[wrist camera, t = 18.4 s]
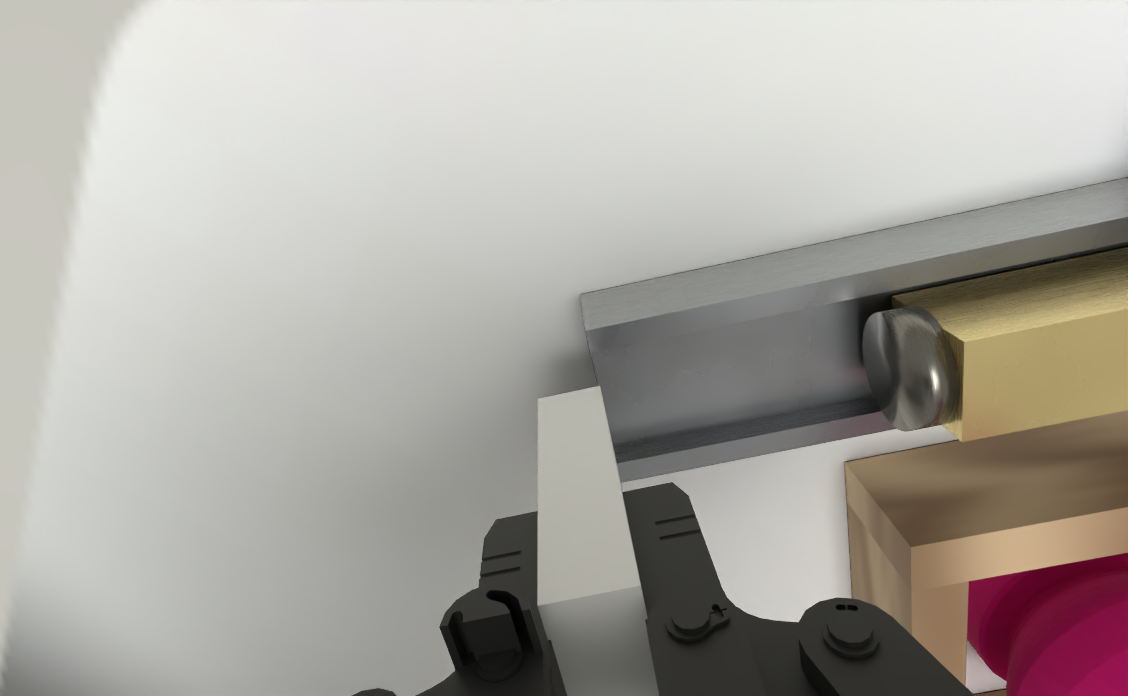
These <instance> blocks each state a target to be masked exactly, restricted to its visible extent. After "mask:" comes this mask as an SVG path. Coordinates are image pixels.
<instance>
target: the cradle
mask: <svg viewBox="0 0 1128 696" xmlns="http://www.w3.org/2000/svg"><path fill="white" fill-rule="evenodd" d="M845 476H846V494H847V512H848V530H849V547H850V565H851V583H852V599H858V600H861V601H864V602H867V603H870V604H873V605H876V606H877V607H879V608H880V609H882V610H883V611H885V612H886V613H887V614H889V615H890V616H892V617H893V618H894V619H895V620H896V621H897V622H898V623H899V624H900V625H901V626H903V627H904V628H905V629H906V630H907V631H908V632H909V633H910V634H911V635H912V636H913V637H914V638H915V639H916V640H917V641H918V642H919V643H920V644H921V645H922V646H923V647H924V648H925V649H927V650H928V651H929V652H930V653H931V654H932V655H933V656H934V657H935V658H936V659H937V660H938V661H939V662H940V663H941V664H942V665H943V666H944V667H945V668H946V669H947V670H948V671H949V672H951V673H952V674H953V675H954V676H955V677H956V678H957V679H958V680H959V681H960V682H961V683H962V684H963V685H964V686H965V678H966V648H967V618H968V588H969V581H973V580H979V579H984V578H990V577H995V576H1001V575H1006V574H1012V573H1017V572H1023V571H1028V570H1034V569H1039V568H1045V567H1050V566H1056V565H1062V564H1067V563H1073V562H1078V561H1084V560H1089V559H1095V558H1100V557H1106V556H1111V555H1117V554H1122V553H1128V410H1126V411H1121V412H1115V413H1110V414H1105V415H1100V416H1095V417H1090V418H1084V419H1079V420H1074V421H1069V422H1064V423H1059V424H1053V425H1048V426H1043V427H1038V428H1033V429H1028V430H1022V431H1017V432H1012V433H1007V434H1002V435H997V436H992V437H986V438H981V439H976V440H971V441H966V442H961V441H960V440H957V441H952V442H947V443H941V444H936V445H931V446H926V447H921V448H916V449H910V450H905V451H900V452H895V453H890V454H885V455H880V456H874V457H869V458H864V459H859V460H854V461H849V462H845ZM975 696H1007V693H1006V689H1005V690H1000V691H994V692H988V693H982V694H976V695H975Z"/></svg>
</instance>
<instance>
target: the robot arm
mask: <svg viewBox="0 0 1128 696" xmlns="http://www.w3.org/2000/svg"><path fill="white" fill-rule="evenodd" d="M480 577H481V578H480V579H479V588H477V589H474V590H471V591H470V592H468V593H467V594H465V595H464V596H462V597H460V598H459V599H457V600H456V601H455V602H454V603H453V605H452V606H451V607H450V608H449V609H448V610H447V611H446V613H445V615H444V617H443V619H442V622H441V624H440V630H441V632H442V635H443V638H444V640H445V643H446V645H447V648H448V651H449V653H450V656H451V659H452V661H453V664H454V666H455V672H453V673H452V674H451V675H450V676H449V677H448V678H446V679H445V680H444V681H442V682H441V683H439V684H437V685H436V686H434V687H432V688H431V689H429V690H426V691H424V692H422V693H420V694H418V695H416V696H975V695H974V694H972V693H971V692H970V691H969V690H968V689H967V688H966V687H965V686H964V685H963V684H962V683H961V682H960V681H959V680H958V679H957V678H956V677H955V676H954V675H953V674H952V673H951V672H949V671H948V670H947V669H946V668H945V667H944V666H943V665H942V664H941V663H940V662H939V661H938V660H937V659H936V658H935V657H934V656H933V655H932V654H931V653H930V652H929V651H928V650H927V649H925V648H924V647H923V646H922V645H921V644H920V643H919V642H918V641H917V640H916V639H915V638H914V637H913V636H912V635H911V634H910V633H909V632H908V631H907V630H906V629H905V628H904V627H903V626H901V625H900V624H899V623H898V622H897V621H896V620H895V619H894V618H893V617H892V616H890V615H889V614H887V613H886V612H885V611H883V610H882V609H880V608H879V607H877V606H876V605H873V604H870V603H867V602H864V601H861V600H858V599H849V598H833V599H829V600H825V601H820V602H818V603H816V604H815V605H813V606H812V607H810V608H809V609H807V610H806V611H805V613H804V614H803V616H802V618H801V619H800V621H799V623H797V622H785V621H774V620H768V619H762V618H758V617H755V616H753V615H750V614H747V613H745V612H744V611H742V610H741V609H739V608H738V607H736V606H735V605H734V604H733V603H732V602H731V601H730V600H729V599H728V598H727V597H726V595H725V593H724V591H723V589H722V587H721V584H720V582H719V579H718V576H717V573H716V571H715V568H714V565H713V562H712V560H711V557H710V554H709V551H708V549H707V546H706V543H705V540H704V538H703V535H702V533H701V530H700V526H699V524H698V521H697V518H696V516H695V513H694V510H693V507H692V504H691V502H690V499H689V496H688V495H687V494H686V493H684V492H683V491H682V490H681V489H680V488H678V487H677V486H676V485H675V484H674V483H672V482H671V483H666V484H661V485H656V486H651V487H646V488H641V489H636V490H631V491H626V492H623V490H622V486H621V481H620V476H619V472H618V467H617V462H616V458H615V453H614V448H613V444H612V439H611V434H610V430H609V425H608V420H607V416H606V411H605V407H604V402H603V397H602V393H601V388H600V386H596V387H591V388H586V389H582V390H577V391H572V392H567V393H563V394H558V395H553V396H548V397H543V398H539V399H538V511H536V512H531V513H527V514H522V515H517V516H512V517H507V518H502V519H497V520H496V521H495V523H494V524H493V526H492V527H491V529H490V531H489V532H488V534H487V535H486V537H485V538H484V545H483V554H482V562H481V571H480ZM352 696H396V695H395V694H394V693H393V692H392V691H388V690H384V689H380V688H377V689H371V690H364V691H361V692H359V693H356V694H354V695H352Z"/></svg>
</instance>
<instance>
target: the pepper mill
mask: <svg viewBox="0 0 1128 696" xmlns="http://www.w3.org/2000/svg"><path fill="white" fill-rule="evenodd" d="M967 639H968V641H969V642H970V643H971V645H972V646H973V647H974V649H975V650H976V651H977V653H978V654H979V655H980V657H981V658H982V659H983V661H984V662H985V663H986V665H987V666H988V667H989V668H990V669H991V670H992V671H993V672H994V673H995V674H996V675H998V676H999V677H1001V678H1002V679H1004V680H1005V681H1007V685H1006V693H1007V696H1128V553H1122V554H1117V555H1111V556H1106V557H1100V558H1095V559H1089V560H1084V561H1078V562H1073V563H1067V564H1062V565H1056V566H1050V567H1045V568H1039V569H1034V570H1028V571H1023V572H1017V573H1012V574H1006V575H1001V576H995V577H990V578H984V579H979V580H973V581H969V588H968V618H967Z"/></svg>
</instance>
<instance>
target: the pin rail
mask: <svg viewBox="0 0 1128 696" xmlns="http://www.w3.org/2000/svg"><path fill="white" fill-rule="evenodd" d="M1126 247H1128V178H1123V179H1118V180H1114V181H1109V182H1104V183H1100V184H1095V185H1090V186H1086V187H1081V188H1076V189H1071V190H1067V191H1062V192H1057V193H1053V194H1048V195H1043V196H1039V197H1034V198H1029V199H1025V200H1020V201H1015V202H1011V203H1006V204H1001V205H997V206H992V207H987V208H983V209H978V210H973V211H968V212H964V213H959V214H954V215H950V216H945V217H940V218H936V219H931V220H926V221H922V222H917V223H912V224H908V225H903V226H898V227H894V228H889V229H884V230H880V231H875V232H870V233H866V234H861V235H856V236H851V237H847V238H842V239H837V240H833V241H828V242H823V243H819V244H814V245H809V246H805V247H800V248H795V249H791V250H786V251H781V252H777V253H772V254H767V255H763V256H758V257H753V258H749V259H744V260H739V261H734V262H730V263H725V264H720V265H716V266H711V267H706V268H702V269H697V270H692V271H688V272H683V273H678V274H674V275H669V276H664V277H660V278H655V279H650V280H646V281H641V282H636V283H631V284H627V285H622V286H617V287H613V288H608V289H603V290H599V291H594V292H589V293H585V294H580V301H581V308H582V314H583V321H584V327H585V333H586V337H587V342H588V346H589V351H590V353H591V357H592V362H593V366H594V371H595V375H596V380H597V385H598V386H600V388H601V393H602V397H603V402H604V407H605V411H606V416H607V420H608V425H609V430H610V434H611V439H612V444H613V448H614V453H615V458H616V462H617V467H618V472H619V476H620V481H621V483H622V482H627V481H632V480H637V479H642V478H647V477H653V476H658V475H663V474H668V473H673V472H678V471H683V470H688V469H693V468H698V467H704V466H709V465H714V464H719V463H724V462H729V461H734V460H739V459H744V458H749V457H755V456H760V455H765V454H770V453H775V452H780V451H785V450H790V449H795V448H800V447H806V446H811V445H816V444H821V443H826V442H831V441H836V440H841V439H846V438H851V437H857V436H862V435H867V434H872V433H877V432H882V431H887V430H892V429H897V428H896V427H894V426H893V425H892V424H891V423H890V422H889V421H888V420H887V418H886V417H885V416H884V414H883V413H882V411H881V410H880V408H879V406H878V404H877V402H876V400H875V398H874V396H873V393H872V391H871V388H870V385H869V382H868V378H867V375H866V370H865V365H864V359H863V344H862V342H863V332H864V327H865V324H866V322H867V320H868V318H869V317H870V316H871V315H872V314H874V313H878V312H882V311H887V310H892V296H895V295H900V294H905V293H910V292H914V291H919V290H924V289H929V288H934V287H938V286H943V285H948V284H953V283H958V282H962V281H967V280H972V279H977V278H982V277H987V276H991V275H996V274H1001V273H1006V272H1011V271H1015V270H1020V269H1025V268H1030V267H1035V266H1040V265H1044V264H1049V263H1054V262H1059V261H1064V260H1068V259H1073V258H1078V257H1083V256H1088V255H1092V254H1097V253H1102V252H1107V251H1112V250H1117V249H1121V248H1126Z"/></svg>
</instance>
